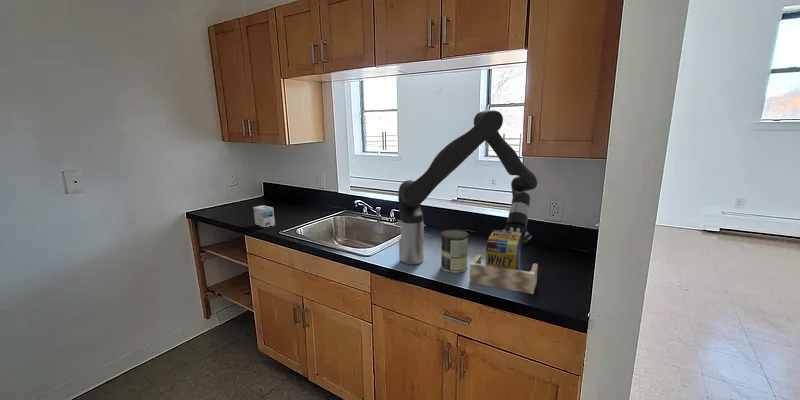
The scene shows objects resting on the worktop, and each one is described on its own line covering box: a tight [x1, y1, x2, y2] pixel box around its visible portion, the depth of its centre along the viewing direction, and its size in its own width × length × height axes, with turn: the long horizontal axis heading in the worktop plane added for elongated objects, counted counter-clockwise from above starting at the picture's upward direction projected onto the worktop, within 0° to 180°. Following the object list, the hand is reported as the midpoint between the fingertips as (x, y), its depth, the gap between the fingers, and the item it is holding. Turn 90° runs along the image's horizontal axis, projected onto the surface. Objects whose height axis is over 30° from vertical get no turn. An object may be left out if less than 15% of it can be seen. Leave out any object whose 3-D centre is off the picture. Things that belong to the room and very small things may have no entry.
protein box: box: [485, 229, 522, 270], centre depth 133 cm, size 10×15×16 cm
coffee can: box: [440, 229, 469, 274], centre depth 142 cm, size 10×10×14 cm
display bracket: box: [469, 254, 539, 295], centre depth 129 cm, size 22×10×7 cm, turn 64°
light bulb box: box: [252, 204, 276, 228], centre depth 206 cm, size 11×7×11 cm, turn 49°
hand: (511, 254), depth 141 cm, fingers closed
